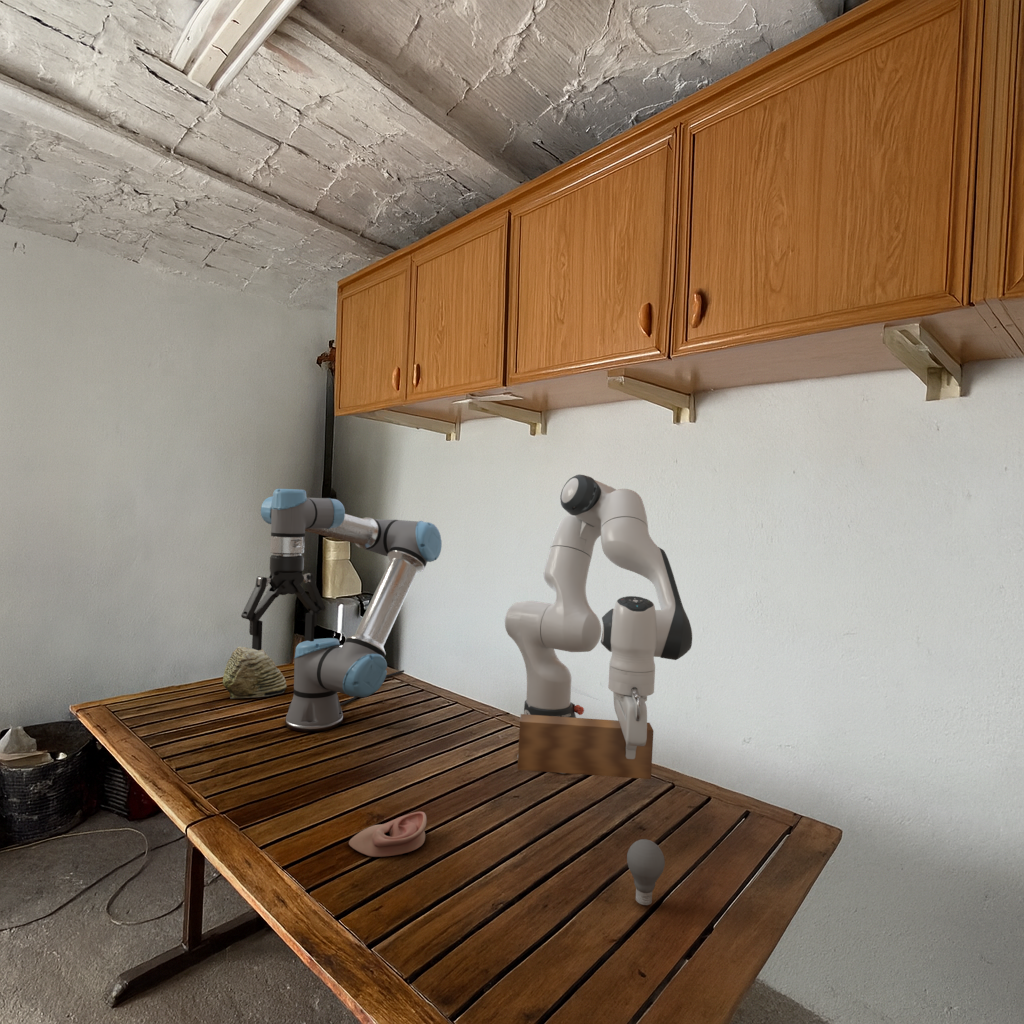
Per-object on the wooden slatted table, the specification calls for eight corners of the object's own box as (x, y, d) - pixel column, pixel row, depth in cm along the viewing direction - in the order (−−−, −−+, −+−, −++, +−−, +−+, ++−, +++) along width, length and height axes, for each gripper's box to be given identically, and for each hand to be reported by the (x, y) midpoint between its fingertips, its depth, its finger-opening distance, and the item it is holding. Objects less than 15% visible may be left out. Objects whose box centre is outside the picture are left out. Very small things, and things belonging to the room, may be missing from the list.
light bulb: (620, 891, 105) (623, 832, 105) (655, 891, 106) (658, 832, 106) (630, 915, 99) (633, 852, 99) (667, 914, 100) (670, 852, 100)
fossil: (218, 695, 195) (220, 647, 195) (278, 685, 208) (279, 640, 207) (228, 703, 189) (230, 653, 188) (289, 692, 201) (290, 645, 201)
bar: (517, 769, 123) (519, 721, 123) (518, 760, 127) (520, 713, 127) (651, 779, 121) (653, 730, 121) (647, 769, 126) (649, 722, 126)
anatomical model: (341, 830, 113) (368, 800, 124) (340, 851, 113) (367, 820, 124) (411, 841, 110) (433, 810, 122) (411, 863, 111) (432, 830, 122)
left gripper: (244, 558, 136) (241, 656, 137) (341, 553, 156) (338, 639, 156) (227, 555, 141) (223, 650, 141) (323, 551, 160) (320, 634, 161)
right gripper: (657, 698, 113) (653, 775, 113) (639, 669, 134) (636, 734, 134) (621, 696, 113) (617, 772, 114) (609, 667, 134) (606, 732, 134)
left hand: (283, 644), depth 149 cm, fingers open, 13 cm apart
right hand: (627, 751), depth 124 cm, fingers closed on bar, 4 cm apart
